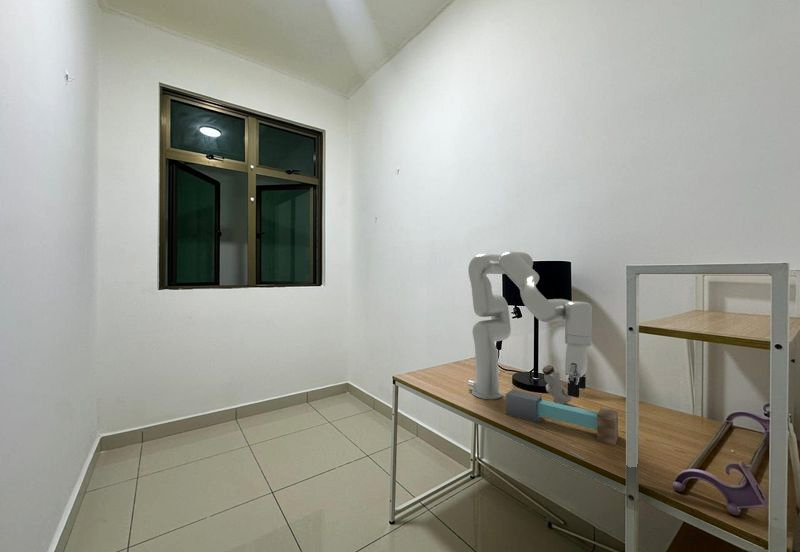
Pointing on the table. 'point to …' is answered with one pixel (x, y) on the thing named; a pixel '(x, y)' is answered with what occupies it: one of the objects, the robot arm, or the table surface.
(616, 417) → the brown rectangular block
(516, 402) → the sleeve
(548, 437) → the table surface
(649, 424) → the table surface
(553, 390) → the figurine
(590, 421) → the light blue long bar
